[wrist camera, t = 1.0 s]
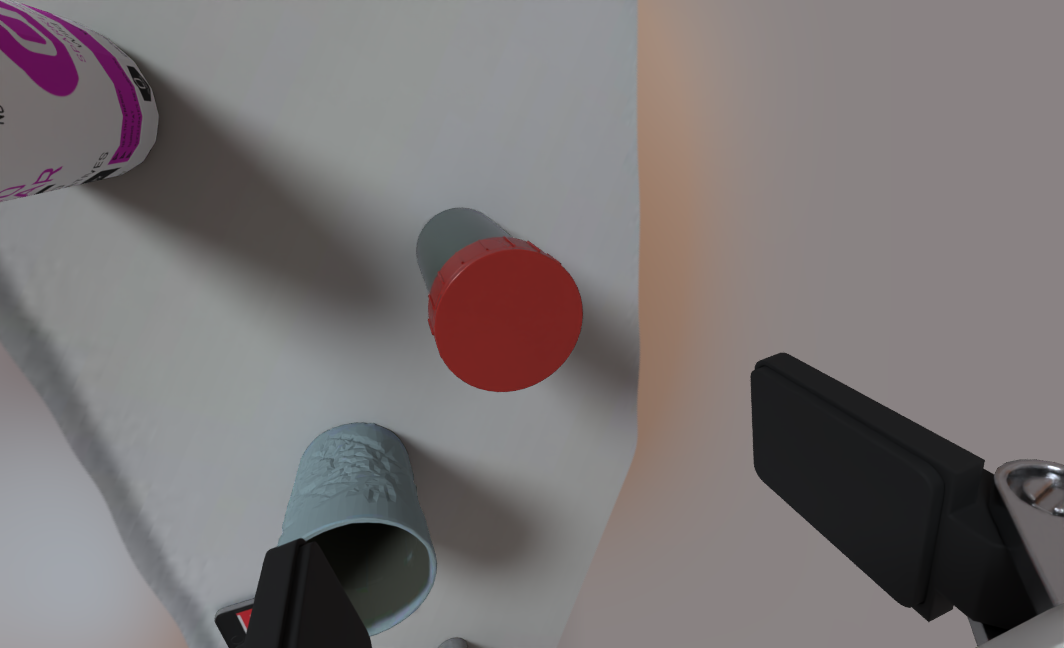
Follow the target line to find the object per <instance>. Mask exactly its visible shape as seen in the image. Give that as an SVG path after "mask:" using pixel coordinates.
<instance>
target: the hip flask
mask: <svg viewBox="0 0 1064 648" xmlns="http://www.w3.org/2000/svg"><path fill="white" fill-rule="evenodd" d="M439 648H467V643H466V641H465V640H463V639H460V638H453V639H449V640H447V641H445V642H443V643H442V644H441V645H440V646H439Z"/></svg>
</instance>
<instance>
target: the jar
mask: <svg viewBox="0 0 1064 648" xmlns="http://www.w3.org/2000/svg"><path fill="white" fill-rule="evenodd" d="M503 236H506V237H510V238H513V237H512V236H510V235H509V234H508V233H507V232H506V231H504V230H503V229H502V228H501V227H499V226H498V225H497V224H496V223H495V222H493V221H492V220H491V219H490V218H488V217H487V216H486V215H484V214H483V213H481V212H479V211H476V210H473V209H469V208H452V209H448V210H445V211H443V212H441V213H439V214H437V215H435V216H434V217H433V218H432V219H430V220H429V221H428V223H427V224H426V225H425V226H424V228H423V229H422V231H421V233H420V235H419V238H418V242H417V248H416V256H417V262H418V265H419V268H420V271H421V274H422V276H423V279H424V282H425V285H426V288H427V291H428V294H429V295H430V291H431V288H432V285H433V282H434V280H435V278H436V276H437V274H438V273H437V272H438V271H440V270H441V268H442V267H443V265H444V264H445V263H446V262H447V261H448V260H449V259H450V258H451V257H452V256H453V255H454V254H455V252H458V251H459V250H461V249H462V248H464V247H466V246H467V245H470V244H472V243H474V242H476V241H478V240H479V239H480V240H483V239H487V238H493V237H503Z"/></svg>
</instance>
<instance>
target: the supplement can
mask: <svg viewBox="0 0 1064 648" xmlns="http://www.w3.org/2000/svg"><path fill="white" fill-rule="evenodd" d="M158 121H159V115H158V111H157V107H156V103H155V99H154V95H153V92H152V89H151V87H150V85H149V84H148V82H147V81H146V79H145V78H144V76H143V75H142V73H141V71H140V70H139V68H138V67H137V65H136V64H135V62H134V61H133V60H132V59H131V58H129V57H128V56H127V55H126V54H125V53H124V52H123V51H122V50H121V49H119V48H118V47H117V46H116V45H115V44H114V43H113V42H112V41H111V40H109V39H108V38H106V37H104V36H103V35H101V34H99V33H97V32H95V31H93V30H91V29H89V28H87V27H85V26H83V25H81V24H79V23H77V22H75V21H72V20H69V19H66V18H63V17H60V16H57V15H54V14H51V13H48V12H45V11H42V10H39V9H36V8H33V7H30V6H27V5H24V4H21V3H18V2H15V1H12V0H0V202H3V201H8V200H12V199H17V198H21V197H26V196H30V195H35V194H39V193H44V192H48V191H52V190H57V189H61V188H66V187H70V186H75V185H79V184H84V183H88V182H93V181H97V180H102V179H106V178H110V177H115V176H119V175H123V174H124V173H126V172H127V171H129V170H130V169H132V168H134V167H135V166H137V165H138V164H140V163H142V162H143V161H144V159H145V158H146V156H147V155H148V153H149V151H150V150H151V148H152V147H153V145H154V144H155V142H156V136H157V129H158Z"/></svg>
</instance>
